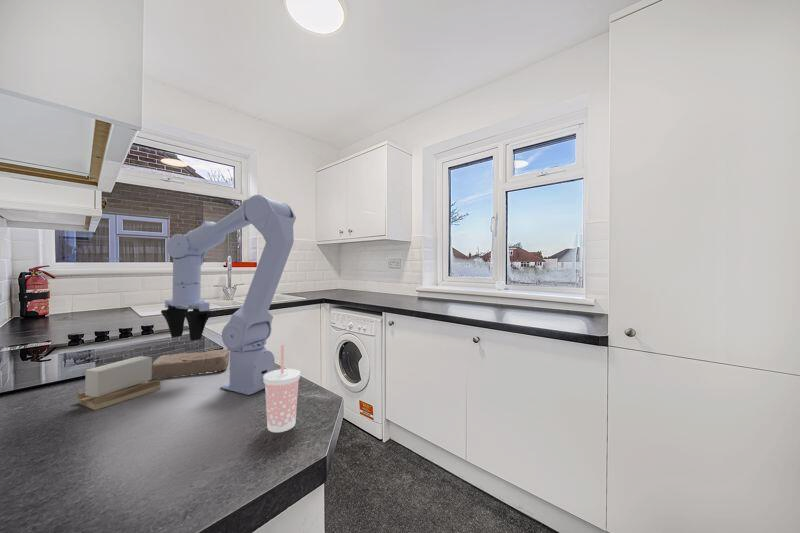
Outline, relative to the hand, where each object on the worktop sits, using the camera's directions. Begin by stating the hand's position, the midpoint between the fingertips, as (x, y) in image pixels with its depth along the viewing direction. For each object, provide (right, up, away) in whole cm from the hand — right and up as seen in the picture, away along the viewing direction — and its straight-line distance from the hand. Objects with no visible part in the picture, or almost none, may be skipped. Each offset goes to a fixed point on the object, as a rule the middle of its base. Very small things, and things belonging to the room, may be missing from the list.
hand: (186, 338), depth 75 cm
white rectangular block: (-6, -8, -11) cm, 15 cm away
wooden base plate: (-6, -10, -11) cm, 16 cm away
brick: (-2, -11, +5) cm, 12 cm away
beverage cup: (+33, -10, -22) cm, 41 cm away
